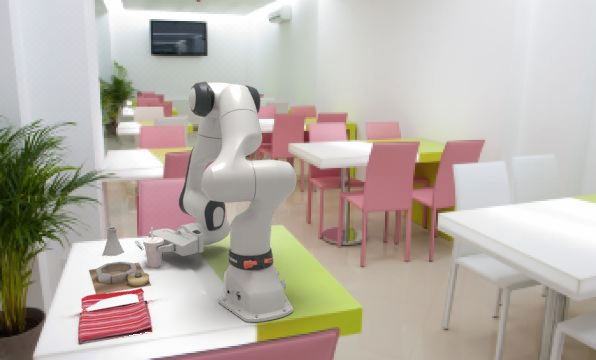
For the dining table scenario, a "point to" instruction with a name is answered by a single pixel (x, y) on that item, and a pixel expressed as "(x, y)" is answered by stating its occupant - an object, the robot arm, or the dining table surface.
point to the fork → (139, 244)
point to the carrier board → (133, 282)
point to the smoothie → (153, 250)
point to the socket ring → (113, 267)
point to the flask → (112, 243)
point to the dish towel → (113, 318)
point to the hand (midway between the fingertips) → (151, 246)
